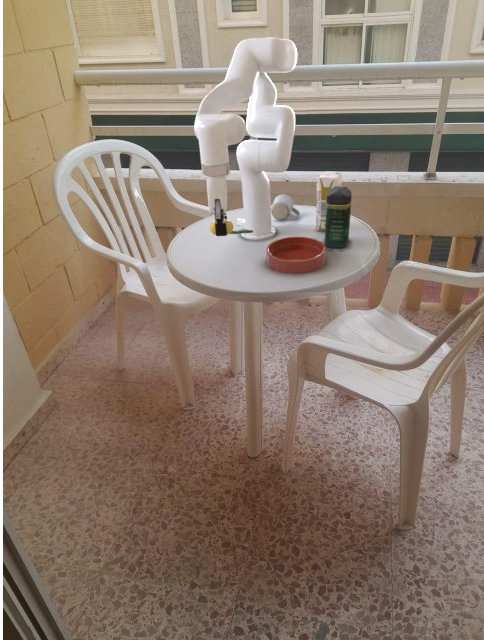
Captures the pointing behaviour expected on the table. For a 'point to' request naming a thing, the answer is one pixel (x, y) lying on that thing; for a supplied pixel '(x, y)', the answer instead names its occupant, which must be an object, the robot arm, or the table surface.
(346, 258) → the table surface
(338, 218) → the coffee jar
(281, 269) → the bowl
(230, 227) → the tulip
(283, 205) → the ceramic mug
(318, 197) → the juice carton
